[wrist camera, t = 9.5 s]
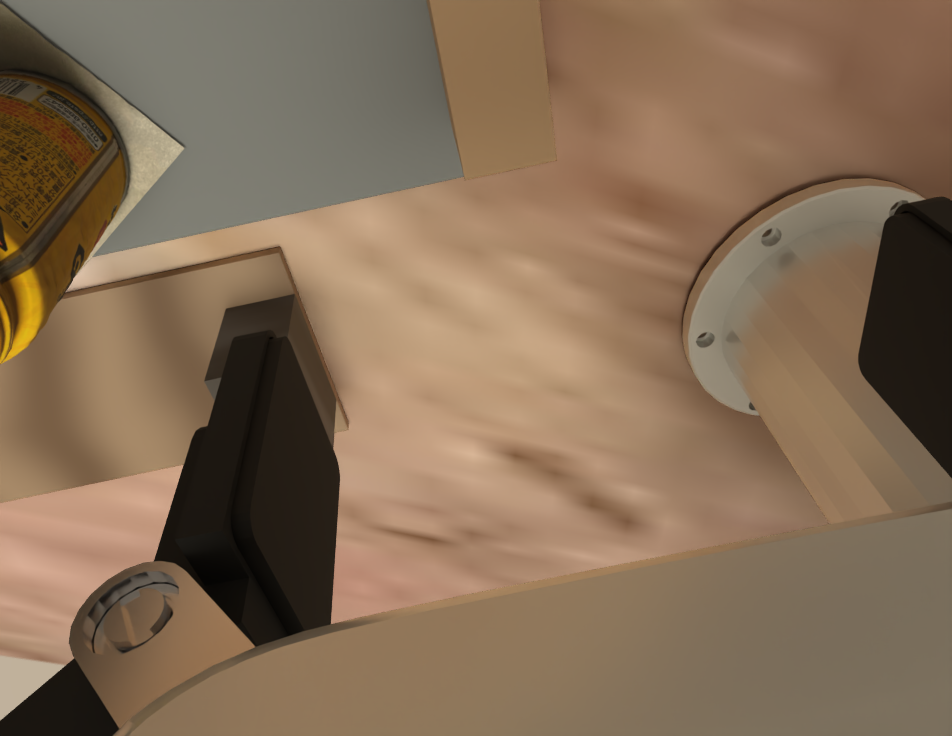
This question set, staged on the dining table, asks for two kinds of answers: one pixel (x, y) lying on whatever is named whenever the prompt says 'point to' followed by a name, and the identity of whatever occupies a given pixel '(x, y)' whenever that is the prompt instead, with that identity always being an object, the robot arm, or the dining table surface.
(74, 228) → the condiment
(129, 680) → the robot arm
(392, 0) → the strip
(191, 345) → the strip empty
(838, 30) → the dining table surface
